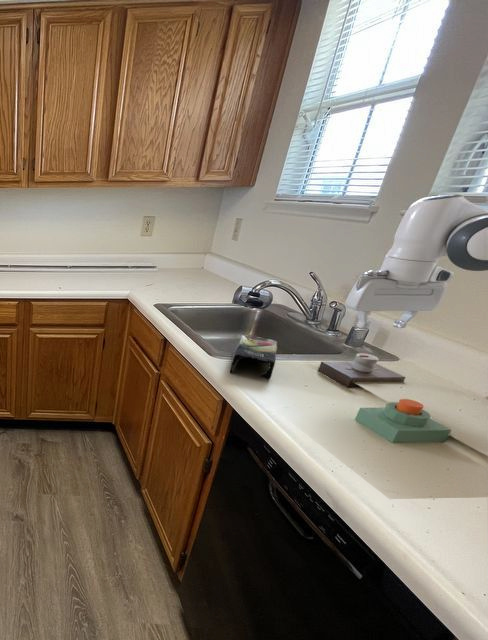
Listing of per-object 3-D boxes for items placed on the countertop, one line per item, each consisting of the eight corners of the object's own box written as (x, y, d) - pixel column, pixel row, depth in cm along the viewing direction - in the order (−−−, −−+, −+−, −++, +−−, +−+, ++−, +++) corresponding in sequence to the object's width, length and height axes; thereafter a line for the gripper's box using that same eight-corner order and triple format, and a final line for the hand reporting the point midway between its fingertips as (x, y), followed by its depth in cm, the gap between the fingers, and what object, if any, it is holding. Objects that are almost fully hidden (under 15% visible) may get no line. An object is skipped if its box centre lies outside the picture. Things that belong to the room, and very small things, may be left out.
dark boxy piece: (235, 349, 127) (240, 330, 124) (272, 357, 122) (279, 337, 119) (227, 373, 112) (233, 353, 109) (269, 383, 107) (277, 362, 104)
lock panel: (366, 370, 114) (371, 360, 113) (400, 387, 105) (406, 376, 104) (317, 371, 114) (321, 360, 112) (347, 388, 105) (352, 377, 103)
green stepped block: (402, 418, 92) (412, 399, 90) (444, 442, 84) (456, 421, 81) (354, 419, 91) (363, 399, 89) (391, 443, 83) (402, 422, 81)
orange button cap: (407, 407, 87) (411, 398, 86) (424, 416, 84) (429, 407, 83) (390, 407, 87) (395, 398, 86) (407, 416, 84) (411, 407, 83)
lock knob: (362, 365, 110) (368, 351, 109) (377, 372, 106) (383, 358, 105) (346, 365, 110) (352, 352, 108) (360, 372, 106) (367, 358, 104)
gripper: (374, 273, 93) (350, 332, 99) (461, 274, 94) (432, 331, 100) (351, 267, 98) (329, 323, 104) (433, 268, 99) (407, 323, 105)
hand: (380, 327), depth 102 cm, fingers open, 8 cm apart
